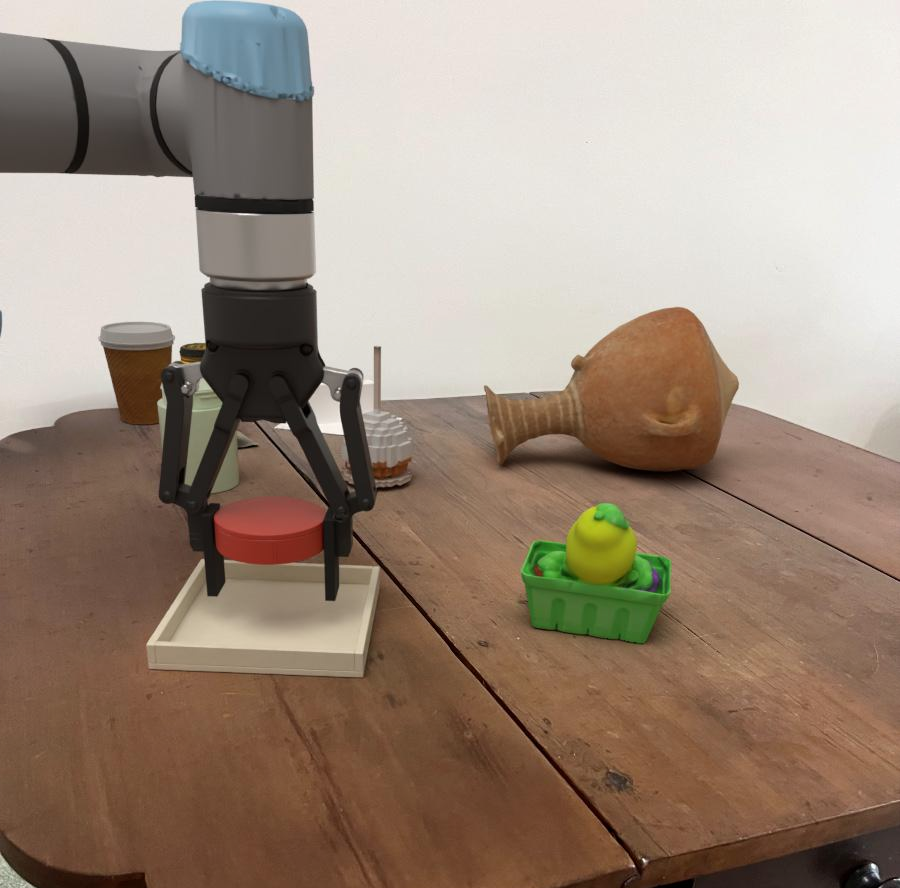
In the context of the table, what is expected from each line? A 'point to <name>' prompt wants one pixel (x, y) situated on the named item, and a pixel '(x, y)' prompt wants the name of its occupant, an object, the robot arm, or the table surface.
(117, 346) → the disposable coffee cup
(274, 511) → the lid
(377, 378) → the caramel apple
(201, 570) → the tray
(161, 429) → the jar
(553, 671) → the table surface
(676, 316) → the jug
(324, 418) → the napkin holder
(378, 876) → the table surface
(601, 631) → the fruit basket
